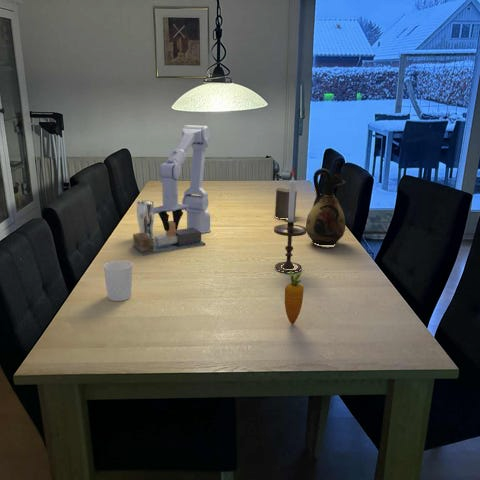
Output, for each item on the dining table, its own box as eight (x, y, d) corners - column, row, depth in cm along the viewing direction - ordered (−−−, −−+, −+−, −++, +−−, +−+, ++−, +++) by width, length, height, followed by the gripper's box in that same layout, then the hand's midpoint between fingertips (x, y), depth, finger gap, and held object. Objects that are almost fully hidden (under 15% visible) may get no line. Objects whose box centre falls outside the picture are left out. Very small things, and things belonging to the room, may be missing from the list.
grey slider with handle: (192, 237, 201) (192, 217, 198) (196, 239, 198) (196, 220, 195) (154, 242, 193) (153, 222, 190) (158, 245, 189) (158, 225, 187)
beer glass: (151, 241, 199) (150, 204, 194) (134, 240, 200) (133, 203, 195) (157, 236, 205) (156, 200, 201) (141, 235, 206) (140, 199, 202)
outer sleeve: (192, 237, 205) (192, 225, 204) (205, 245, 196) (205, 232, 195) (131, 247, 192) (130, 234, 190) (142, 255, 183) (141, 242, 182)
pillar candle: (272, 218, 236) (273, 187, 231) (278, 214, 245) (280, 183, 240) (291, 221, 233) (294, 189, 228) (297, 216, 241) (299, 185, 237)
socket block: (144, 243, 193) (144, 232, 192) (153, 250, 186) (153, 238, 185) (133, 245, 191) (133, 234, 190) (142, 252, 184) (141, 240, 182)
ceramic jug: (347, 242, 204) (354, 168, 195) (338, 252, 190) (344, 174, 181) (307, 236, 211) (312, 164, 202) (295, 246, 197) (300, 170, 188)
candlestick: (283, 276, 166) (288, 171, 156) (266, 266, 175) (270, 165, 165) (310, 271, 171) (317, 169, 160) (292, 261, 180) (298, 164, 170)
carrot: (281, 320, 136) (284, 267, 131) (299, 319, 136) (302, 267, 132) (284, 328, 131) (287, 274, 126) (303, 328, 131) (306, 274, 127)
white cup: (138, 293, 150) (136, 262, 147) (124, 304, 143) (122, 271, 140) (115, 289, 153) (113, 258, 150) (100, 299, 146) (98, 267, 143)
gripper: (156, 199, 182) (157, 235, 186) (192, 195, 189) (192, 229, 193) (148, 195, 187) (150, 230, 191) (184, 191, 195) (184, 225, 199)
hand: (170, 229), depth 193 cm, fingers open, 3 cm apart
